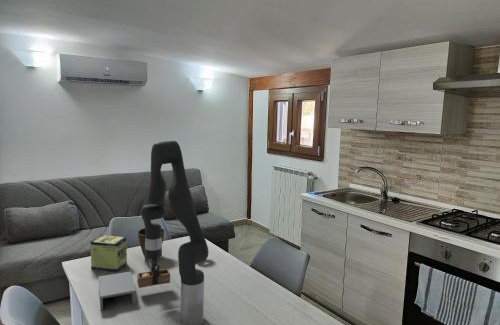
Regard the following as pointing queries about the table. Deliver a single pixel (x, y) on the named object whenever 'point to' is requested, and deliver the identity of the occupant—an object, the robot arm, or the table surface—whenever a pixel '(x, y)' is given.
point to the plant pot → (142, 239)
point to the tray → (147, 281)
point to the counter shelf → (116, 286)
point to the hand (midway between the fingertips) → (153, 281)
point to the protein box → (108, 253)
